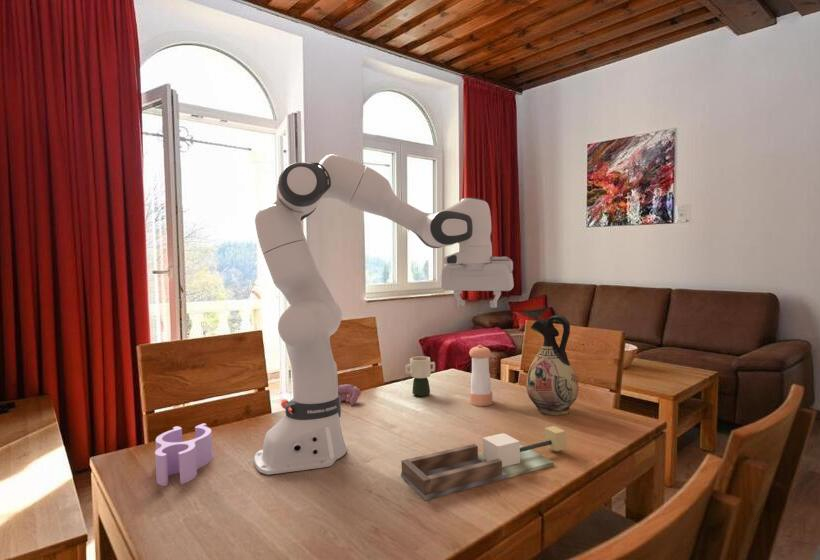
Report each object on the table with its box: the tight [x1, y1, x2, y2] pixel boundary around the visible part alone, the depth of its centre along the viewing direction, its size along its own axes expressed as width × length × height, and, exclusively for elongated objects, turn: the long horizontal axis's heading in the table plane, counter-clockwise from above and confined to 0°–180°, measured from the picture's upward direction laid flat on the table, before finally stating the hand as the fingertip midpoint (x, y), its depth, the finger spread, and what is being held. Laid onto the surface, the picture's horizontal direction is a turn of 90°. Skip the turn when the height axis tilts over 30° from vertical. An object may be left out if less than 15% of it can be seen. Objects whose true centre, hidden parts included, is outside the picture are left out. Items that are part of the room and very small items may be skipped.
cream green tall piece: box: [405, 355, 436, 397], centre depth 171 cm, size 11×7×13 cm, turn 107°
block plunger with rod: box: [482, 425, 567, 467], centre depth 116 cm, size 20×6×5 cm, turn 115°
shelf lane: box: [400, 443, 555, 501], centre depth 110 cm, size 33×12×4 cm, turn 115°
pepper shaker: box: [468, 344, 493, 407], centre depth 160 cm, size 7×7×19 cm
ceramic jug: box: [525, 314, 580, 416], centre depth 148 cm, size 17×15×30 cm
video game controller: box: [338, 383, 362, 407], centre depth 166 cm, size 10×5×7 cm, turn 59°
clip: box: [154, 423, 214, 487], centre depth 118 cm, size 20×12×7 cm, turn 13°
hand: (477, 307), depth 136 cm, fingers open, 8 cm apart
